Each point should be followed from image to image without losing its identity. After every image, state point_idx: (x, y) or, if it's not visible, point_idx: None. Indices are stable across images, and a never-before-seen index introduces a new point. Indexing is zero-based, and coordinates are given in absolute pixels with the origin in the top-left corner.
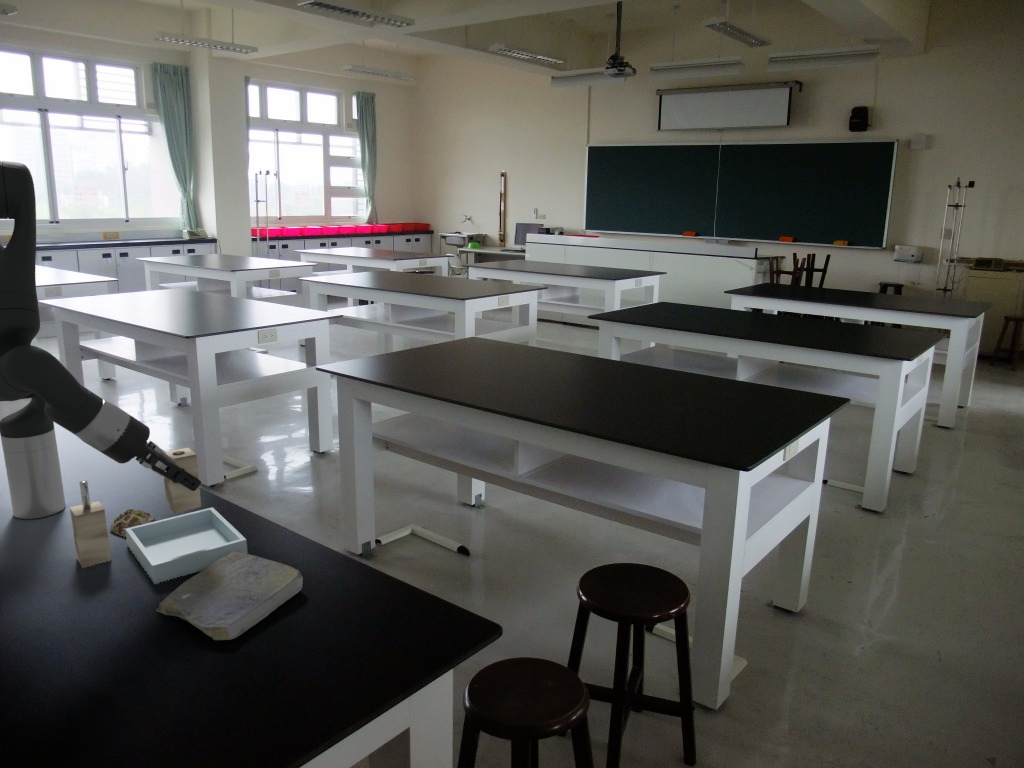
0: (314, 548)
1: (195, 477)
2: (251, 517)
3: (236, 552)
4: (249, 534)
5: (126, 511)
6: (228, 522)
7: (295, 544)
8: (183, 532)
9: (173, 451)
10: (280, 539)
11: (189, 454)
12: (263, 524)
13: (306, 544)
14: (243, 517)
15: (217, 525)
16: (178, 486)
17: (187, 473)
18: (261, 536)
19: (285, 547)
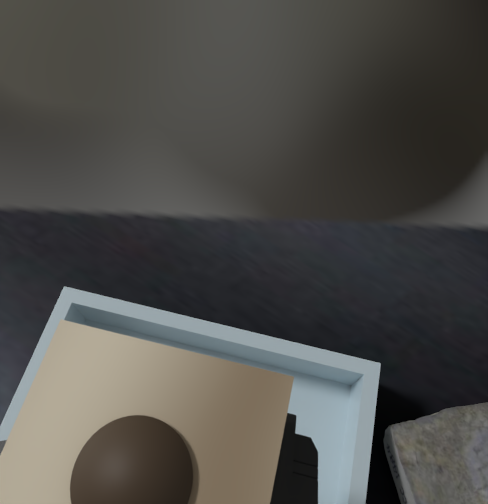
0: (442, 237)
1: (287, 440)
2: (143, 222)
3: (411, 427)
4: (234, 288)
5: None
6: (216, 323)
7: (386, 251)
8: None
9: (29, 477)
10: (330, 256)
11: (252, 424)
12: (210, 229)
13: (407, 235)
14: (123, 234)
15: (143, 329)
16: None
17: (287, 498)
18: (273, 275)
19: (383, 277)
